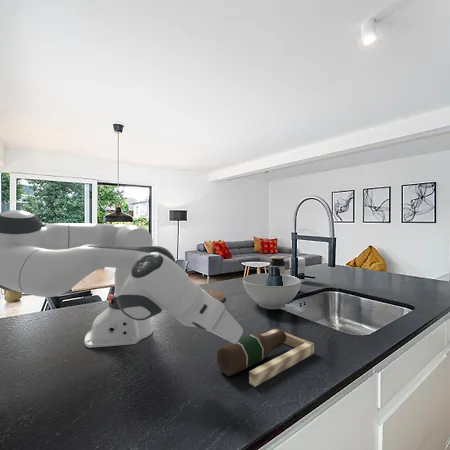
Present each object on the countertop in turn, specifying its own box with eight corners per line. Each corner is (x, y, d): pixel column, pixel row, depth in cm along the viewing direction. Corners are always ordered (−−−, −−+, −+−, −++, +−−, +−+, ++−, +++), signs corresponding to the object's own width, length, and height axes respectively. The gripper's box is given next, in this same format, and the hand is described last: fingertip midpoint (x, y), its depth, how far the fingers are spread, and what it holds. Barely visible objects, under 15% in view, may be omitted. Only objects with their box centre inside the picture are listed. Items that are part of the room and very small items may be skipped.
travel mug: (286, 290, 157) (286, 257, 156) (271, 290, 157) (271, 257, 157) (283, 286, 165) (283, 255, 164) (269, 286, 165) (269, 255, 165)
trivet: (233, 303, 136) (233, 299, 136) (183, 311, 125) (183, 307, 125) (212, 290, 158) (212, 287, 158) (168, 297, 147) (168, 293, 147)
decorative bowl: (257, 294, 150) (257, 271, 150) (308, 301, 136) (308, 276, 136) (232, 308, 127) (232, 281, 127) (290, 319, 113) (290, 289, 113)
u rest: (255, 386, 69) (254, 374, 69) (217, 362, 81) (216, 352, 80) (313, 353, 85) (313, 343, 85) (275, 337, 97) (275, 328, 97)
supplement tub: (308, 281, 177) (308, 257, 177) (300, 283, 171) (300, 259, 170) (294, 278, 184) (294, 256, 184) (286, 281, 178) (286, 258, 177)
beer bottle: (237, 362, 70) (296, 335, 85) (220, 339, 75) (278, 318, 91) (229, 384, 73) (287, 354, 88) (212, 360, 78) (270, 336, 94)
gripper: (162, 306, 72) (194, 333, 79) (210, 330, 57) (245, 362, 63) (177, 285, 75) (207, 313, 82) (226, 304, 59) (259, 336, 66)
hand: (224, 335), depth 72 cm, fingers closed
